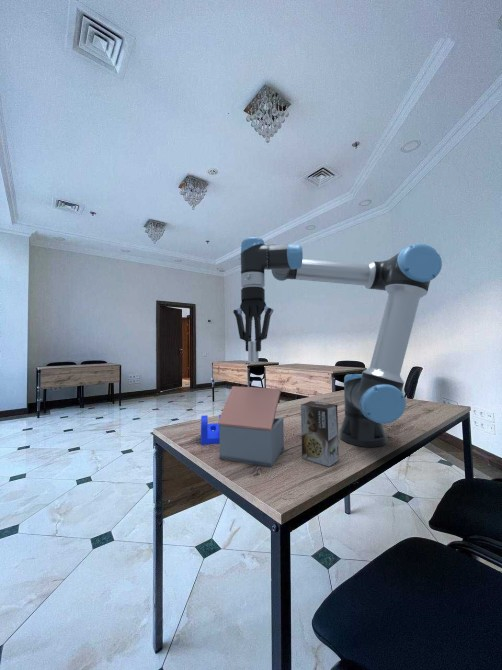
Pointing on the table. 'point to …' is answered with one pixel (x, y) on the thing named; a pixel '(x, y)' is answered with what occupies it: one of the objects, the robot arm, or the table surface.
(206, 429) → the bracket
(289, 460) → the table surface
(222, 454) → the box
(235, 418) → the lid
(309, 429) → the coffee box
